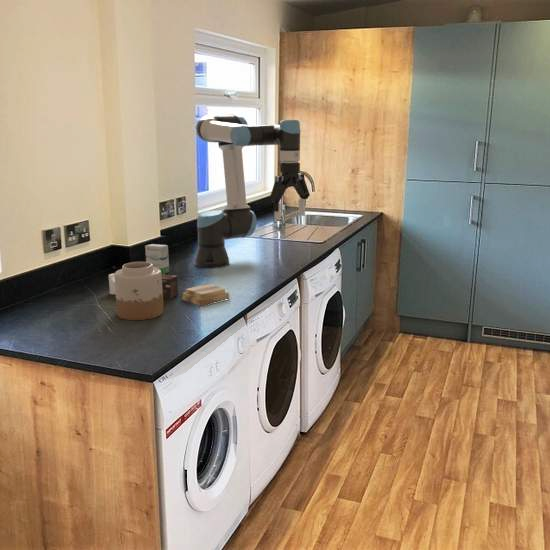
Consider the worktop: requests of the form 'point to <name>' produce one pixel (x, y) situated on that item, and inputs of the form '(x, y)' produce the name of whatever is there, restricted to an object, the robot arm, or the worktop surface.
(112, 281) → the bracket
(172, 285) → the box
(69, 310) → the worktop surface
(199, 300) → the plinth
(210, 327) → the worktop surface
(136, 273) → the vase
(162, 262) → the ink box
